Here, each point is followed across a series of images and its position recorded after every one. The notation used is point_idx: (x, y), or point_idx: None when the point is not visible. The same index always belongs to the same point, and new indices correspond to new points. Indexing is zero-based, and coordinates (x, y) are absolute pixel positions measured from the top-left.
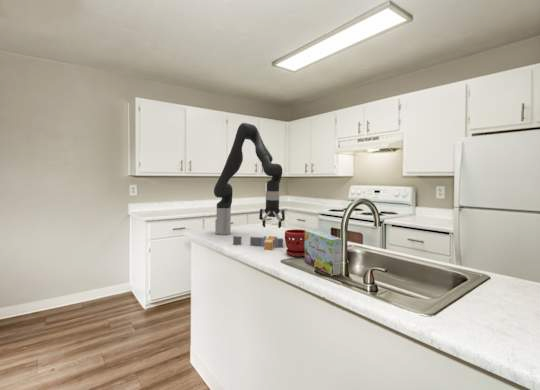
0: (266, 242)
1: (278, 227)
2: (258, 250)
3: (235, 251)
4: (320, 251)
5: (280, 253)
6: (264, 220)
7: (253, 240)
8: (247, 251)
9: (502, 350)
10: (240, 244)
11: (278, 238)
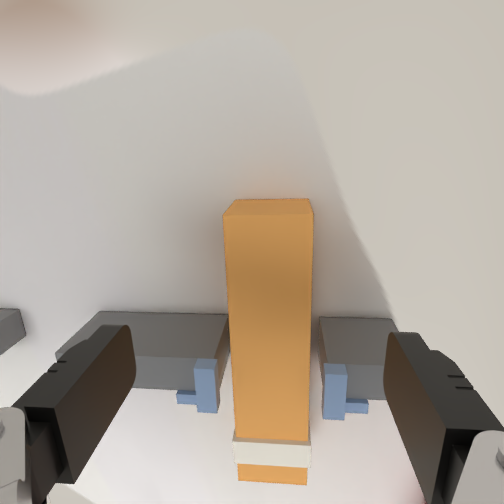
0: (258, 480)
1: (388, 398)
2: (212, 451)
3: (80, 487)
4: None
5: (378, 495)
6: (53, 480)
7: None
8: (150, 479)
9: None
10: (23, 336)
11: (361, 372)
